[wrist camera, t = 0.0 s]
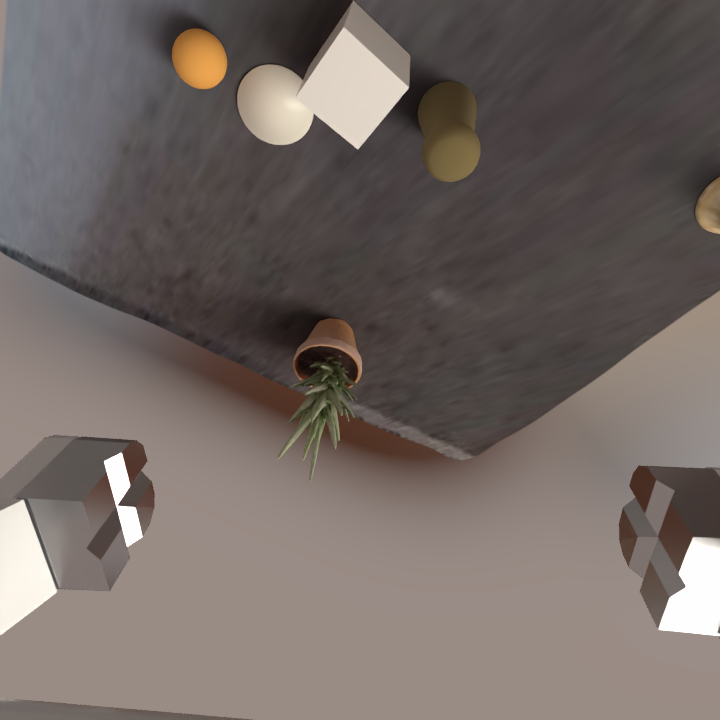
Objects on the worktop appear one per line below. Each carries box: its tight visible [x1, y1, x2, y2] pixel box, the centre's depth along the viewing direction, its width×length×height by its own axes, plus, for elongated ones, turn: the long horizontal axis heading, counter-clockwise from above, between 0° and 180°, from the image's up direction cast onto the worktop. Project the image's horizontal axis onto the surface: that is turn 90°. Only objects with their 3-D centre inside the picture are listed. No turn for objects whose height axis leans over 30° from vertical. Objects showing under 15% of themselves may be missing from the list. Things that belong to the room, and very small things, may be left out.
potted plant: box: [277, 318, 362, 484], centre depth 69 cm, size 10×10×25 cm
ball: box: [172, 28, 227, 89], centre depth 50 cm, size 5×5×5 cm
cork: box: [418, 81, 480, 182], centre depth 51 cm, size 6×6×11 cm
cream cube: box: [295, 1, 410, 149], centre depth 49 cm, size 7×7×9 cm
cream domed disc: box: [237, 64, 314, 145], centre depth 55 cm, size 8×8×1 cm
